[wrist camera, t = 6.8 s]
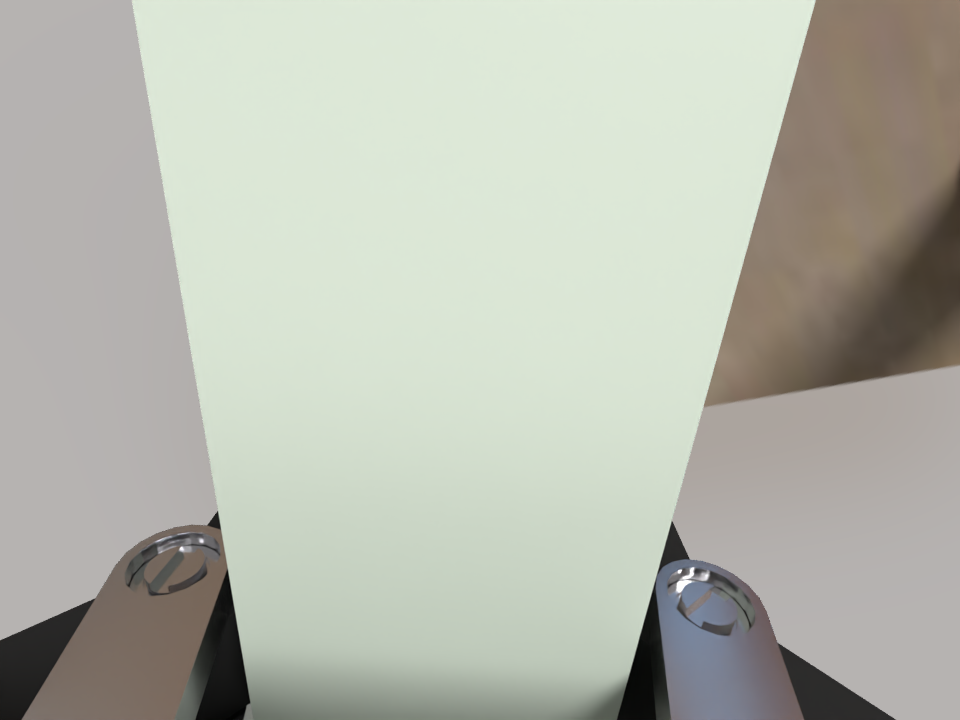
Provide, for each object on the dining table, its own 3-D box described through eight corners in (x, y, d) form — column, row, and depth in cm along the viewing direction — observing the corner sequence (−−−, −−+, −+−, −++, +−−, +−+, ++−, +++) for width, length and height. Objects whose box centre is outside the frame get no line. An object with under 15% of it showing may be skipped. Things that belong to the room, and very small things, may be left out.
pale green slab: (542, 80, 21) (893, -280, 3) (506, 424, 27) (533, 1022, 9) (442, 73, 21) (73, -345, 3) (430, 419, 27) (302, 1008, 9)
